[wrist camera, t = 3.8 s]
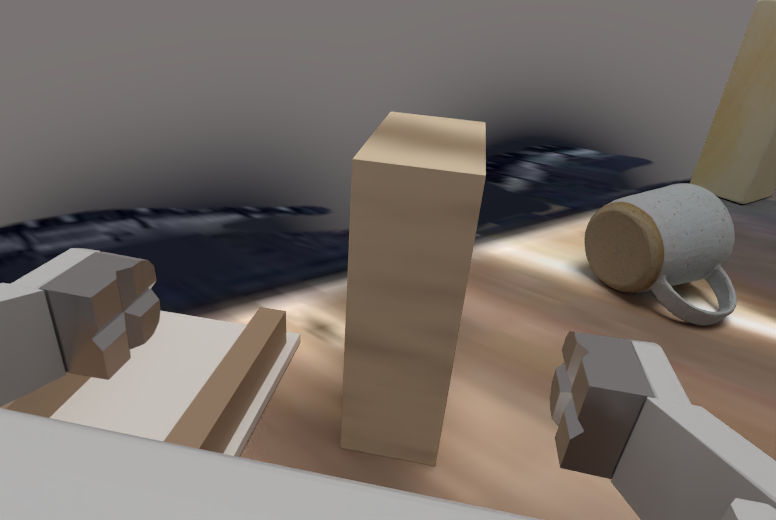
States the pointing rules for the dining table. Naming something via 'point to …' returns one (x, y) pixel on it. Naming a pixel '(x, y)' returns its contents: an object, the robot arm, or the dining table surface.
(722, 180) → the toy refrigerator
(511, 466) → the dining table surface
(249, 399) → the track
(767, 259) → the dining table surface
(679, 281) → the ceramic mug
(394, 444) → the wooden block
